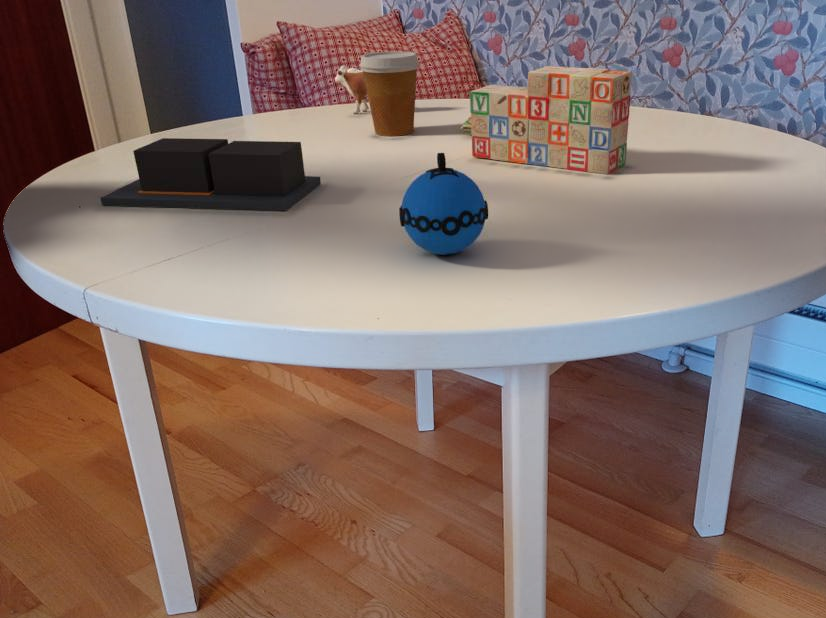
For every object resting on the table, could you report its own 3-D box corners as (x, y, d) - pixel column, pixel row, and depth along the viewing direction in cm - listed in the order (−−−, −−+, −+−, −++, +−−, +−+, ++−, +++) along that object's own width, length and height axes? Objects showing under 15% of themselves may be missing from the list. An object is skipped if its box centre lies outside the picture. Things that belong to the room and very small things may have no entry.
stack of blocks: (470, 158, 118) (467, 67, 112) (492, 149, 122) (491, 61, 117) (609, 174, 108) (613, 76, 102) (627, 164, 112) (632, 69, 107)
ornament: (497, 263, 79) (495, 159, 75) (409, 271, 78) (401, 167, 73) (478, 235, 87) (475, 140, 82) (398, 243, 85) (390, 146, 81)
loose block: (141, 191, 102) (132, 150, 99) (170, 176, 108) (162, 138, 106) (208, 193, 100) (201, 151, 98) (234, 178, 106) (227, 139, 104)
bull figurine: (339, 110, 154) (335, 64, 150) (410, 109, 152) (407, 63, 149) (333, 114, 150) (328, 67, 146) (406, 113, 149) (402, 66, 145)
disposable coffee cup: (354, 136, 133) (347, 58, 127) (382, 124, 140) (377, 50, 135) (407, 140, 129) (401, 59, 124) (433, 127, 137) (429, 51, 132)
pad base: (101, 205, 101) (89, 156, 98) (153, 179, 111) (143, 135, 108) (285, 211, 97) (278, 160, 94) (321, 184, 107) (315, 137, 104)
